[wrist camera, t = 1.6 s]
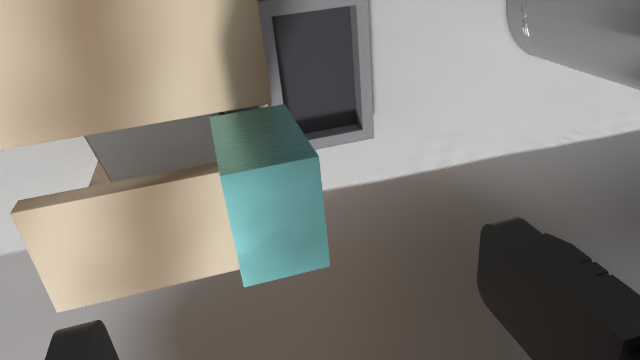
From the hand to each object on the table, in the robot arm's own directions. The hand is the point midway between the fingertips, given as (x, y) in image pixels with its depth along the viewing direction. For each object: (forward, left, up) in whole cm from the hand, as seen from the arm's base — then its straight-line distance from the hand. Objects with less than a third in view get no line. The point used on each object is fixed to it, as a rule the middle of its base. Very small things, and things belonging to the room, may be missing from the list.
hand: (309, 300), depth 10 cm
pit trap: (-6, +2, -24) cm, 24 cm away
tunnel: (+4, 0, -24) cm, 24 cm away
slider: (0, 0, -24) cm, 24 cm away
